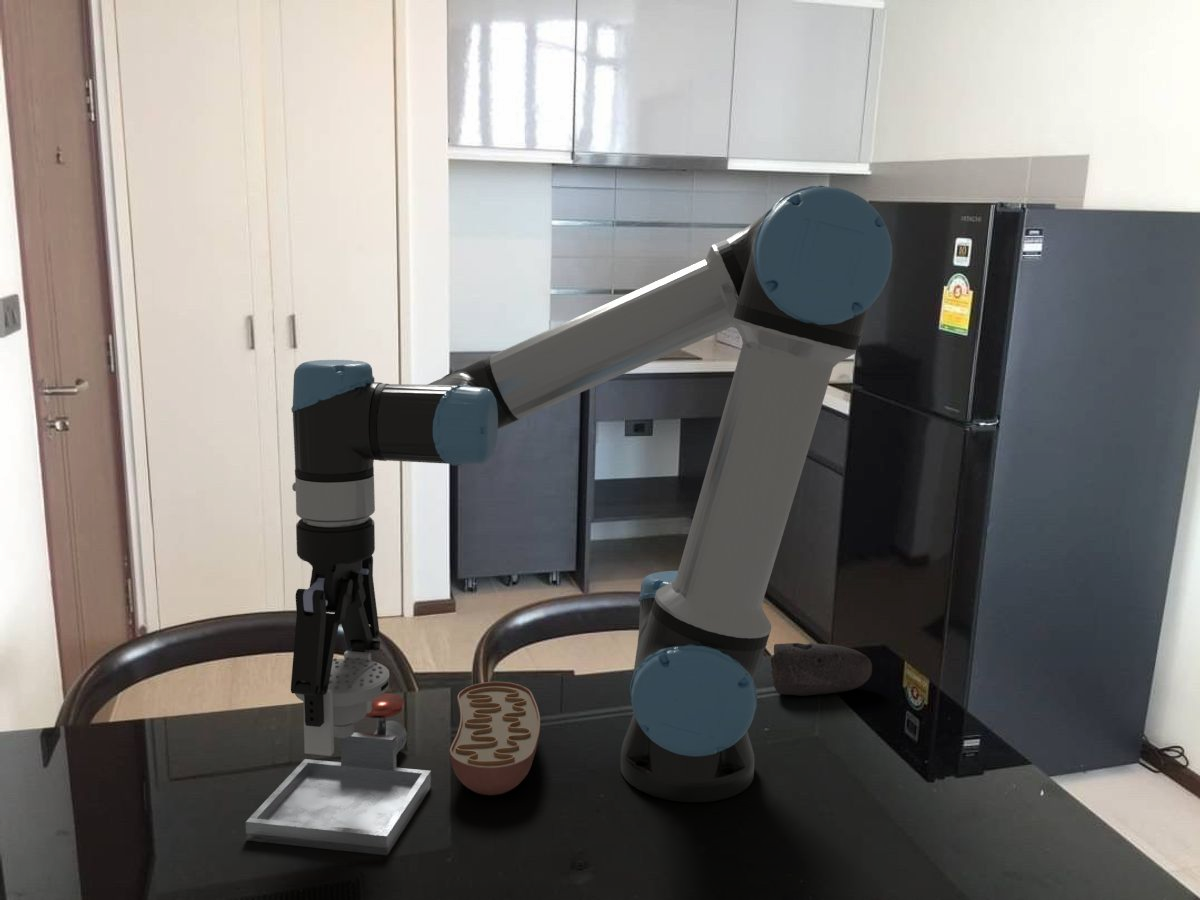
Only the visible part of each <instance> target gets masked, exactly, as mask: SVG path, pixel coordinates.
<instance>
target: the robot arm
mask: <svg viewBox="0 0 1200 900" xmlns="http://www.w3.org/2000/svg"><path fill="white" fill-rule="evenodd" d="M892 262H893V246H892V241H891V235H890V233H889V230H888V227H887V225H886V223H885V221H884V219H883V217H882V216H881V215H880V213H879V211H878V210H877V209H876V208H875V207H874V206H873V205H872V204H871V203H870V202H868V201H867V200H866V199H865V198H863V197H861V196H860V195H858V194H857V193H854V192H852V191H850V190H847V189H843V188H840V187H835V186H834V187H833V186H825V185H812V186H808V187H801V188H798V189H796V190H794V191H792V192H790V193H788V194H786V195H785V196H783V197H782V198H780V199H779V200H778V201H776V203H775V204H773V205H772V206H771V208H770V209H769V210H767V212H765V213H764V214H763V215H762V216H760V217H759V218H757V219H756V220H755V221H753V223H750V224H749V225H748V226H746V227H745V228H742V230H739V231H738V232H736V233H735V234H733V235H731V236H729V237H726V238H725V239H723V240H720V241H719V242H716V243H713V244H712V245H710V248H709V250H708V254H707V256H706V257H705V258H704V259H702V260H700V261H698V262H695V263H693V264H691V265H688V266H687V267H685V268H682V269H680V270H678V271H675V272H674V273H671V274H668V275H667V276H665V277H662V278H660V279H658V280H656V281H654V282H650V283H649V284H647V285H644V286H642V287H640V288H637V289H636V290H633V291H631V292H629V293H627V294H624V295H623V296H620V297H618V298H616V299H614V300H611V301H610V302H607V303H605V304H602V305H600V306H598V307H596V308H594V309H591V310H589V311H588V312H584V313H583V314H579V315H578V316H575V317H574V318H571V319H570V320H568V321H564V322H562V323H560V324H559V325H556V326H554V327H551V328H550V329H547V330H546V331H543V332H540V333H539V334H536V335H534V336H532V337H530V338H528V339H525V340H523V341H520V342H519V343H517V344H515V345H511V346H509V347H508V348H507V347H506V349H503V350H501V351H499V352H496V353H494V354H492V355H491V356H488V357H487V358H484V359H481V360H479V361H477V362H474V363H473V364H470V365H468V366H465V367H463V368H459V369H456V370H454V371H452V372H450V373H448V374H446V375H445V376H443V377H442V378H438V379H437V380H434V381H432V382H430V383H427V384H408V383H407V384H402V383H401V384H398V383H397V384H395V383H392V384H391V383H383V382H376V381H375V377H374V376H373V368H372V366H371V364H370V363H368V362H366V361H362V360H351V359H350V360H349V359H319V360H318V359H317V360H309V361H305V362H303V363H300V364H298V366H297V367H296V368H295V369H294V373H293V386H292V387H293V388H292V393H293V394H292V407H291V413H292V424H293V425H292V428H293V429H292V430H293V448H294V466H295V467H294V475H295V478H294V479H295V482H293V483H292V486H291V488H292V489H291V490H293V492H295V512H296V515H297V516H298V517H299V518H300V519H299V520H298V522H296V524H295V530H296V531H295V532H296V554H297V557H298V558H299V559H300V560H301V561H303V562H307V563H308V564H309V565H310V566H311V567H312V569H311V576H310V581H309V583H310V584H309V587H308V588H297V589H296V592H295V609H296V618H295V619H296V620H295V632H294V645H293V654H292V655H293V657H292V667H291V670H292V671H291V680H290V681H291V682H290V693H291V694H293V695H295V694H303V701H302V703H303V704H302V705H303V706H302V707H303V710H302V711H303V741H304V742H303V743H304V745H303V746H304V754H308V755H319V756H327V757H330V756H332V755H333V754H334V753H335V743H334V742H335V737H334V729H333V690H331V689H328V685H329V679H330V674H331V668H332V662H333V659H334V656H335V651H336V650H335V649H336V644H337V643H336V642H337V637H338V631H339V626H340V625H341V628H342V631H343V634H344V638H345V641H346V645H347V647H348V649H350V650H346V651H344V653H343V659H345V658H347V657H348V659H357V658H360V659H363V660H370V661H372V653H371V652H370V651H374V652H375V651H376V652H378V651H380V648H381V641H380V640H376V639H378V638H379V637H380V627H379V625H380V624H379V618H378V617H379V616H378V609H377V601H376V592H375V583H374V576H373V575H374V574H373V573H374V557H373V555H374V552H375V548H376V545H375V544H376V543H375V541H376V540H375V539H376V538H375V537H376V535H375V528H376V527H375V520H374V519H373V518H372V517H370V516H372V515H373V514H375V511H376V506H375V504H376V503H375V502H376V501H375V499H376V498H375V474H374V473H375V469H374V462H375V461H380V462H387V461H388V462H389V461H390V462H406V463H407V462H408V463H409V462H411V463H426V464H427V463H428V464H445V465H447V464H448V465H450V466H454V467H455V466H461V465H465V464H466V465H467V464H469V465H470V464H471V465H473V464H475V465H476V464H485V463H488V462H489V461H490V459H491V458H492V457H493V456H494V452H495V448H496V445H497V441H498V432H499V431H498V430H500V429H502V428H504V427H507V426H509V425H511V424H513V423H515V422H517V421H519V420H521V419H523V418H525V417H528V416H530V415H533V414H535V413H537V412H539V411H541V410H545V409H546V408H549V407H551V406H553V405H555V404H557V403H560V402H562V401H564V400H567V399H569V398H572V397H574V396H576V395H578V394H580V393H583V392H586V391H587V390H591V389H592V388H595V387H597V386H600V385H601V384H603V383H606V382H608V381H610V380H613V379H615V378H617V377H620V376H621V375H624V374H626V373H629V372H632V371H634V370H636V369H638V368H640V367H643V366H646V365H647V364H650V363H653V362H654V361H656V360H659V359H661V358H663V357H666V356H668V355H671V354H673V353H675V352H677V351H679V350H682V349H684V348H686V347H689V346H691V345H693V344H696V343H697V342H700V341H702V340H704V339H707V338H710V337H712V336H714V335H716V334H718V333H721V332H723V331H727V330H728V329H730V328H733V327H735V328H736V330H737V332H738V334H739V335H740V337H741V341H742V346H741V349H740V352H739V355H738V359H737V362H736V366H735V369H734V373H733V378H732V381H731V385H730V388H729V390H728V395H727V398H726V401H725V405H724V409H723V412H722V414H721V418H720V422H719V426H718V430H717V433H716V437H715V440H714V443H713V448H712V450H711V453H710V457H709V461H708V465H707V468H706V472H705V476H704V479H703V482H702V486H701V490H700V492H699V497H698V500H697V503H696V507H695V511H694V514H693V517H692V521H691V524H690V528H689V531H688V535H687V538H686V542H685V545H684V549H683V553H682V557H681V561H680V563H679V567H678V570H668V571H667V570H665V571H658V572H653V573H650V574H648V575H646V576H645V577H644V578H643V579H642V581H641V582H640V592H639V595H638V598H637V599H638V602H639V621H638V623H639V624H638V627H639V628H638V637H637V638H638V639H637V645H636V646H637V647H636V653H635V658H634V659H635V661H634V666H633V672H632V673H633V674H632V678H631V681H630V684H629V694H630V696H629V699H630V703H631V705H632V706H631V707H632V711H633V714H632V717H631V721H630V723H629V725H628V727H627V731H626V734H625V736H624V738H623V741H622V742H623V743H622V745H621V747H620V748H621V749H620V773H621V775H622V776H623V778H624V779H625V781H626V782H628V784H629V785H631V786H632V787H634V788H636V789H637V790H639V791H640V792H643V793H645V794H647V795H649V796H652V797H655V798H659V799H663V800H667V801H673V802H680V803H708V802H709V803H710V802H716V801H722V800H725V799H729V798H732V797H734V796H737V795H739V794H740V793H742V792H744V791H745V790H747V789H748V788H749V787H750V786H751V784H752V782H753V780H754V777H755V753H754V751H753V745H752V743H751V740H750V736H749V732H748V730H749V728H750V727H751V725H752V722H753V720H754V717H755V713H756V710H757V706H758V703H757V700H758V694H757V687H756V681H757V677H758V675H759V671H760V668H761V664H762V660H763V657H764V653H765V651H766V647H767V644H768V640H769V638H770V637H769V636H770V634H771V631H772V623H771V622H770V619H769V617H768V616H767V614H766V613H765V611H764V609H763V606H762V605H763V601H764V598H765V595H766V591H767V589H768V585H769V583H770V582H769V581H770V578H771V574H772V572H773V568H774V565H775V561H776V558H777V555H778V552H779V549H780V545H781V542H782V539H783V535H784V531H785V529H786V525H787V522H788V520H789V514H790V512H791V509H792V505H793V503H794V499H795V495H796V493H797V489H798V485H799V482H800V479H801V476H802V472H803V468H804V465H805V462H806V458H807V456H808V452H809V450H810V446H811V442H812V439H813V436H814V433H815V429H816V427H817V426H816V425H817V424H818V423H817V422H818V419H819V416H820V412H821V409H822V407H823V403H824V401H825V395H826V393H827V390H828V386H829V383H830V379H831V377H832V374H833V370H834V368H835V367H836V365H838V364H840V363H841V362H843V361H844V360H846V359H849V358H850V357H851V356H853V355H855V354H856V351H857V349H858V345H859V343H860V339H861V337H862V336H861V335H862V333H863V329H864V325H865V322H866V319H867V315H868V313H869V309H870V307H872V306H873V304H875V302H876V300H877V299H878V298H879V296H881V294H882V293H883V289H884V288H885V286H886V285H887V282H888V279H889V276H890V272H891V268H892ZM374 639H375V640H374ZM371 711H372V700H370V701H368V702H367V713H370V712H371Z"/></svg>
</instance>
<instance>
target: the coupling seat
mask: <svg viewBox="0 0 1200 900" xmlns="http://www.w3.org/2000/svg"><path fill="white" fill-rule="evenodd" d="M403 710H404V698H403V697H402V696H401V695H398V694H396V693H389V692H388V693H387V692H385V693H384V694H382V695H381V696H379V697H377V698H375V699H373V700H372V711H371V712H370V713H367V714H366V716H365V717H366V718H371V719H376V730H375V731H374V733H369V732H368V733H367V732H355V731H354V734H353V735H352V736H350V737H346V738H340V762H339V761H332V760H331V761H328V760H318V759H317V760H316V759H307V758H305V759H303V760H302V761H301V762H300V764H298V765H297V766H296V767H295V769H294V770H293V771H292V772H291V773H290V774H289V775H288V776H287V778H284V780H283V781H282V783H280V784H279V786H278V787H277V788H276V789H275V790H274V791H273V792H272V793H271V794H270V795H269V796H268V797H267V798H266V800H265V801H263V803H262V804H260V806H259V807H258V808H257V809H256V810H255V811H254V812H253V813H252V814H251V815H250V816H249V818H248V819H247V820H246V821H245V834H246V835H245V840H246V841H249V842H256V843H257V842H258V843H265V844H267V843H268V844H274V845H275V844H277V845H286V846H295V847H304V848H313V849H321V850H322V849H323V850H334V851H343V852H353V853H360V854H361V853H362V854H371V855H379V856H380V855H381V856H388V854H390V852H391V850H392V849H393V847H395V844H396V843H397V841H398V839H399V838H400V836H401V835H402V833H403V832H404V831H405V829H406V827H407V825H408V824H409V822H410V821H411V819H412V818H413V816H414V814H416V812H417V810H418V809H419V807H420V806H421V804H422V802H423V800H425V798H426V796H427V795H428V793H429V791H430V790H431V788H432V773H431V772H432V771H431V770H427V769H415V768H406V767H405V768H404V767H403V768H402V767H398V766H397V755H398V754H399V752H400V751H401V750H402V749H403V747H404V746H405V744H406V743H407V741H408V733H407V729H406V728H405V726H404V725H403V724H402V723H400V722H398V721H396V720H387V719H386V718H391V717H394V716H396V715H398V714H400V713H401V712H402V711H403Z"/></svg>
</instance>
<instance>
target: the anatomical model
mask: <svg viewBox="0 0 1200 900" xmlns="http://www.w3.org/2000/svg"><path fill="white" fill-rule="evenodd" d="M456 698H457V699H456V700H457V706H458V712H459V717H460V719H459V725H458V730H457V733H456V735H455V737H454V739H453V741H452V743H451V746H450V749H449V758H450V764H451V767H452V770H453V772H454V775H456V778H457V779H458V780H459V782H460V783H462V785H463V786H465V787H466V788H467V789H469V790H470V791H472V792H473V793H474V792H475V793H476V794H479V795H484V796H497V795H503V794H505V793H507V792H510V791H511V790H512V791H513V790H514V789H515V788H516V787H517V786H519V784H521V782H522V781H523V780H524V779H526V777H527V776H528V774H529V772H530V769H531V767H532V764H533V761H534V758H535V755H536V752H537V748H538V745H539V744H538V743H539V739H540V738H539V737H540V731H541V716H540V712H539V708H538V704H537V702H536V700H535V697H534V694H533V693H532V691H531V690H530V689H529V688H527V687H525V686H523V685H521V684H517V683H513V682H509V681H508V682H506V681H487V682H480V683H476V684H472V685H469V686H466V687H465V688H464V689H462V690H461V691H459V693H458V695H457V697H456Z"/></svg>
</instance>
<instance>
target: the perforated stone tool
mask: <svg viewBox="0 0 1200 900" xmlns="http://www.w3.org/2000/svg"><path fill="white" fill-rule="evenodd" d="M871 661H872V660H871V659H870V658H869V657H868V656H867V655H865V654H863V653H862V652H860V651H858V650H856V649H853V648H851V647H845V646H841V645H836V644H825V643H814V642H813V643H812V642H810V643H800V642H793V643H792V642H791V643H775V644H774V646H773V654H772V655H771V658H770V662H771V668H772V669H771V670H770V673H771V674H772V685H773V686H774V689H775V691H776V693H777V694H779V695H788V696H800V697H801V696H814V695H815V696H817V695H827V694H828V695H829V694H836V693H843V692H848V691H852V690H855V689H857V688H860V687H861V686H863V685H864V684H865V683H866V682H867V681H868V680H869V679H870V677H871V676H872V673H873V663H872V662H871Z"/></svg>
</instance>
